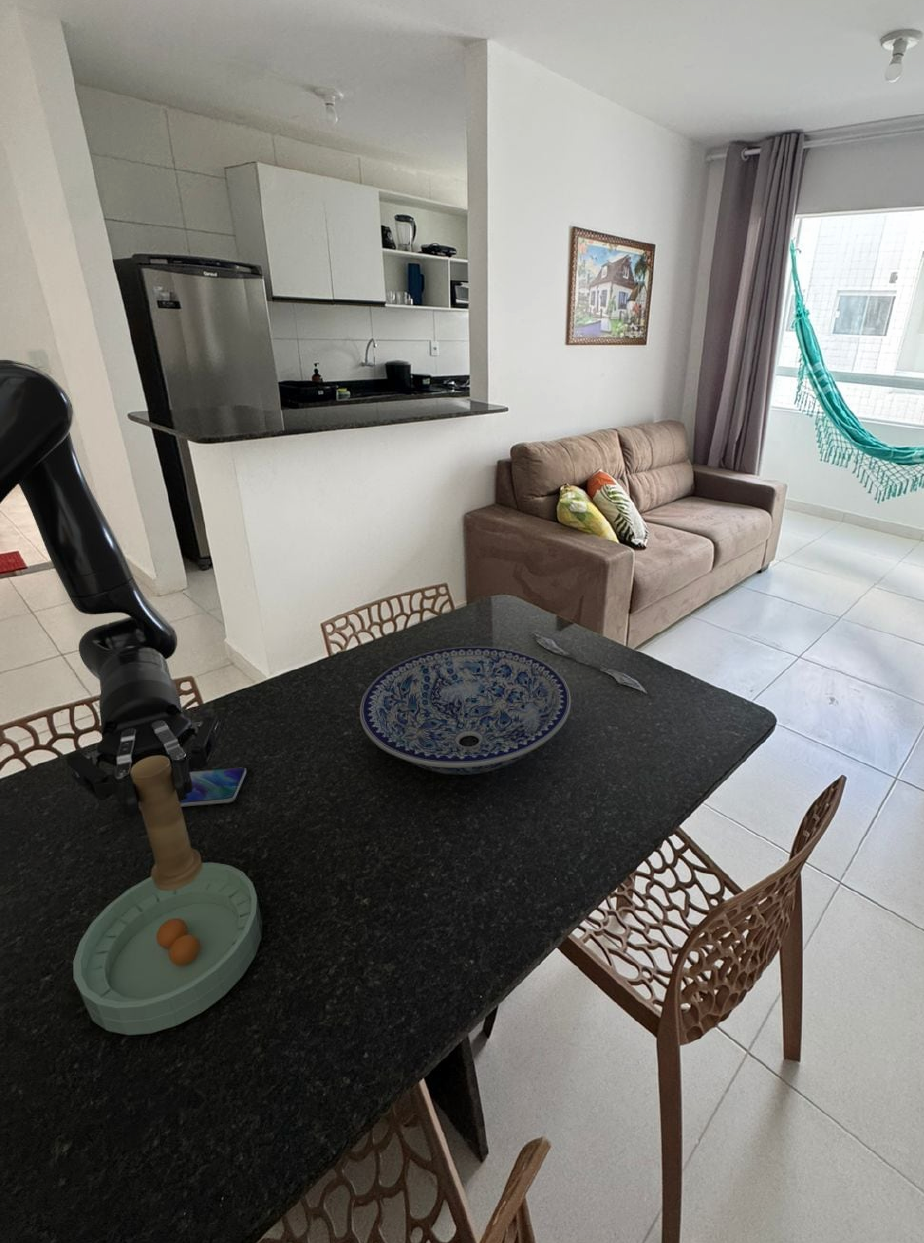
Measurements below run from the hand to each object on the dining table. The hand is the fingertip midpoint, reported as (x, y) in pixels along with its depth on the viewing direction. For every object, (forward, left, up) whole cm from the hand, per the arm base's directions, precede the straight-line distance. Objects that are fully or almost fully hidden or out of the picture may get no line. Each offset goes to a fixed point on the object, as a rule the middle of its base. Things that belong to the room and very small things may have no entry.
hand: (158, 800), depth 59 cm
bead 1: (-6, +1, -23) cm, 24 cm away
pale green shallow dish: (-5, 0, -25) cm, 26 cm away
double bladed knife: (+12, +81, -26) cm, 86 cm away
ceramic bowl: (+4, +47, -26) cm, 54 cm away
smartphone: (-27, +18, -26) cm, 41 cm away
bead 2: (-3, 0, -23) cm, 24 cm away
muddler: (-2, +1, -12) cm, 12 cm away
